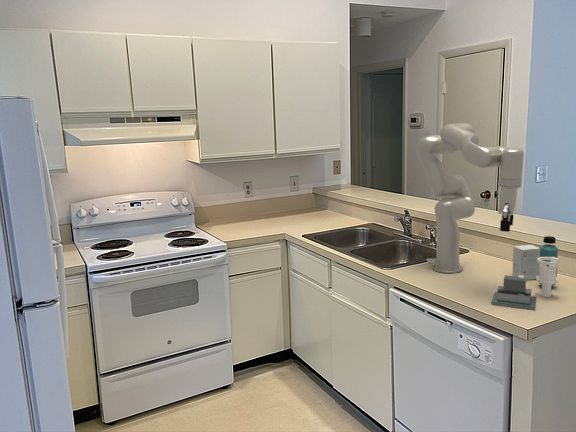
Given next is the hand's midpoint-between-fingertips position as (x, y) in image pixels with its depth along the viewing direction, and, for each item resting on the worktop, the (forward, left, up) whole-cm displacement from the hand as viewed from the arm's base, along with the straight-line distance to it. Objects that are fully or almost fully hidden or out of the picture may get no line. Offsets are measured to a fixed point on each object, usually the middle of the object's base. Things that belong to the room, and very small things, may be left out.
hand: (506, 228), depth 183 cm
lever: (+4, -10, -24) cm, 26 cm away
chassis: (+4, -10, -25) cm, 27 cm away
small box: (+6, +20, -25) cm, 33 cm away
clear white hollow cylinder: (+14, +1, -25) cm, 29 cm away
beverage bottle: (+14, +11, -25) cm, 31 cm away
